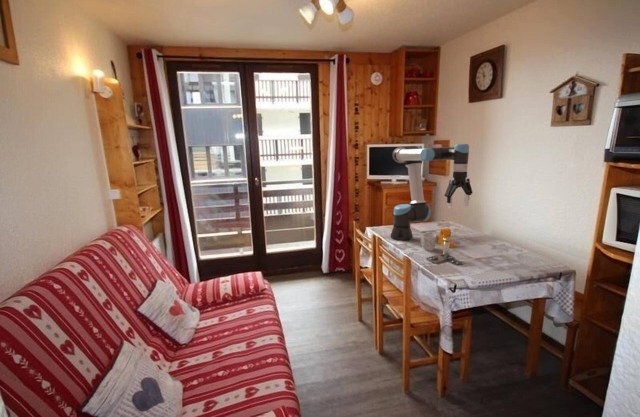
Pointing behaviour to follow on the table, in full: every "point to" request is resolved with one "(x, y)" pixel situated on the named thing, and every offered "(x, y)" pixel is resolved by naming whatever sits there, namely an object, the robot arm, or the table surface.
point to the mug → (428, 241)
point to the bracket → (445, 234)
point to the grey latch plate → (455, 262)
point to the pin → (446, 247)
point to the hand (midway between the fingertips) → (457, 207)
